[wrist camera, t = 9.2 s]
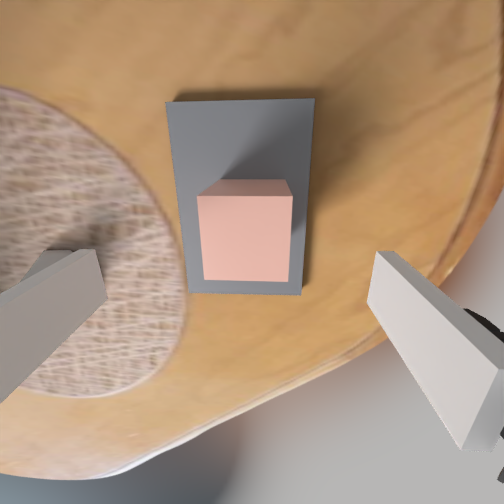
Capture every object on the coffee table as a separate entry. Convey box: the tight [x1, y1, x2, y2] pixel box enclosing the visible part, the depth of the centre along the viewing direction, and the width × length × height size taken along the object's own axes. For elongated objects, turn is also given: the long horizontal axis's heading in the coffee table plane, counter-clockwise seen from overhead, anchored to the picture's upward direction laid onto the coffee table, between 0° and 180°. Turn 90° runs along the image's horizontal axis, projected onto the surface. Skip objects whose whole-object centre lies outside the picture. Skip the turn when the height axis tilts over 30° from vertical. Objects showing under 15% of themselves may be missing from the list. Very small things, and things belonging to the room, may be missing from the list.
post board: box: [165, 98, 315, 295], centre depth 22 cm, size 12×18×6 cm, turn 1°
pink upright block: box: [197, 179, 293, 282], centre depth 20 cm, size 6×6×8 cm
